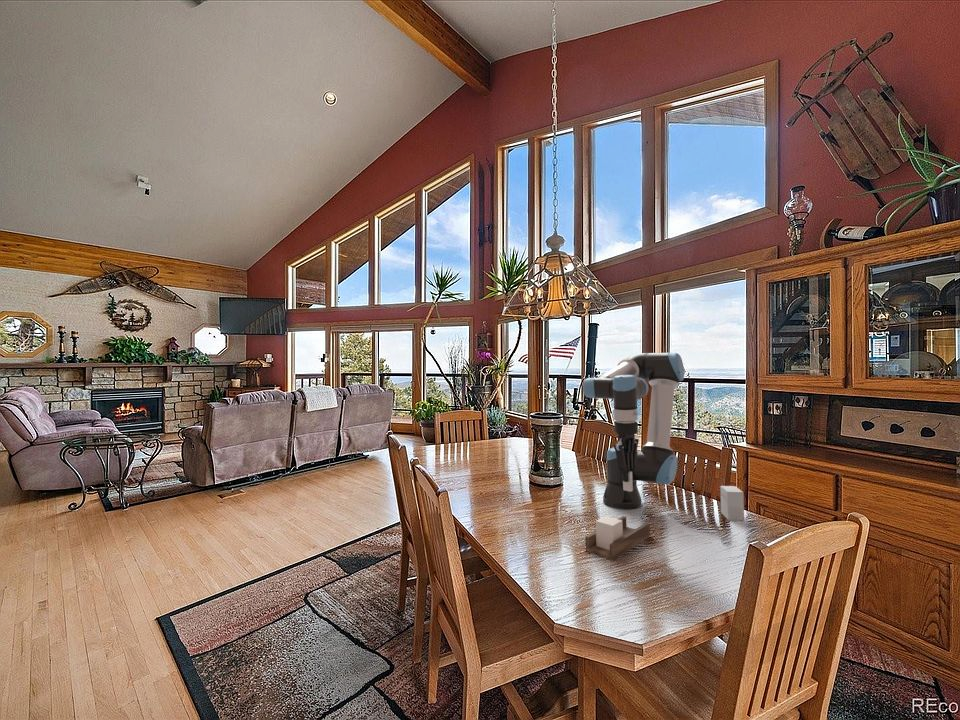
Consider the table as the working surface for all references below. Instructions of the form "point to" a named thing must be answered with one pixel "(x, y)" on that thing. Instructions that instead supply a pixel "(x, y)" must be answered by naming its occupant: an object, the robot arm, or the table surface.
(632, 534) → the chute
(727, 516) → the small box
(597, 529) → the block
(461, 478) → the table surface
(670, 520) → the table surface
